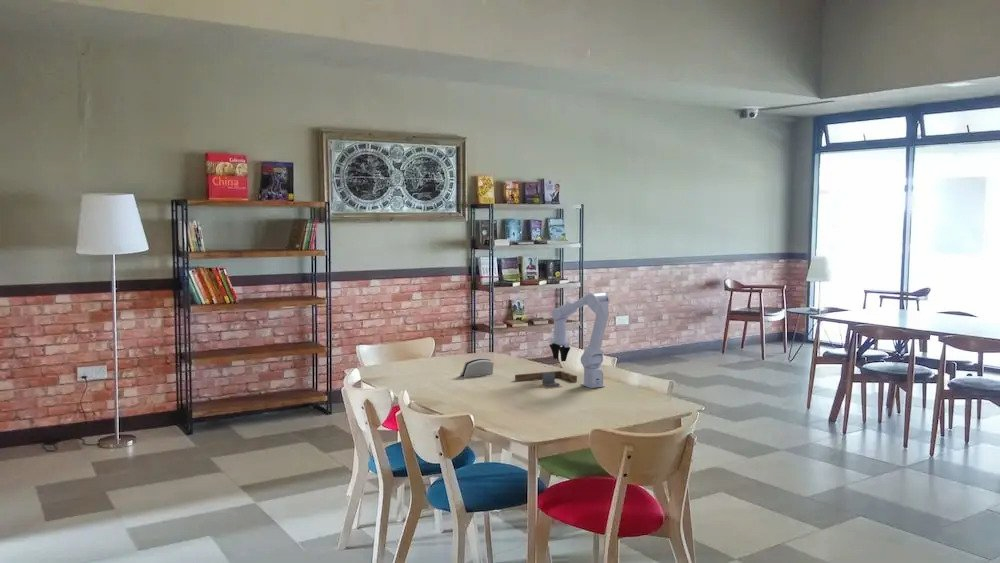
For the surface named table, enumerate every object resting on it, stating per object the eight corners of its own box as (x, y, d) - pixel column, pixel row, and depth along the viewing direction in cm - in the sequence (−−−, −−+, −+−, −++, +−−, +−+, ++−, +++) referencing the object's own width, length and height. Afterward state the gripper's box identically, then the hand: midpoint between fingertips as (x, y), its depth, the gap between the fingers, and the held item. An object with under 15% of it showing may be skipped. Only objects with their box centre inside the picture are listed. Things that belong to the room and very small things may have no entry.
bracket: (553, 383, 389) (553, 371, 389) (559, 386, 384) (559, 373, 383) (542, 384, 387) (542, 372, 386) (548, 387, 381) (548, 374, 381)
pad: (562, 386, 384) (562, 386, 384) (547, 388, 380) (547, 387, 380) (554, 383, 391) (554, 383, 391) (539, 385, 388) (539, 384, 388)
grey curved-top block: (487, 372, 419) (491, 355, 415) (492, 376, 416) (496, 359, 412) (459, 375, 410) (462, 358, 406) (464, 380, 406) (467, 362, 403)
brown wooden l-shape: (576, 382, 395) (576, 375, 395) (528, 386, 384) (528, 380, 384) (561, 376, 408) (561, 370, 408) (515, 380, 398) (515, 374, 397)
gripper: (545, 330, 405) (545, 358, 406) (560, 334, 392) (559, 362, 393) (558, 330, 408) (557, 357, 409) (572, 333, 395) (572, 361, 396)
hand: (559, 359), depth 401 cm, fingers open, 7 cm apart
